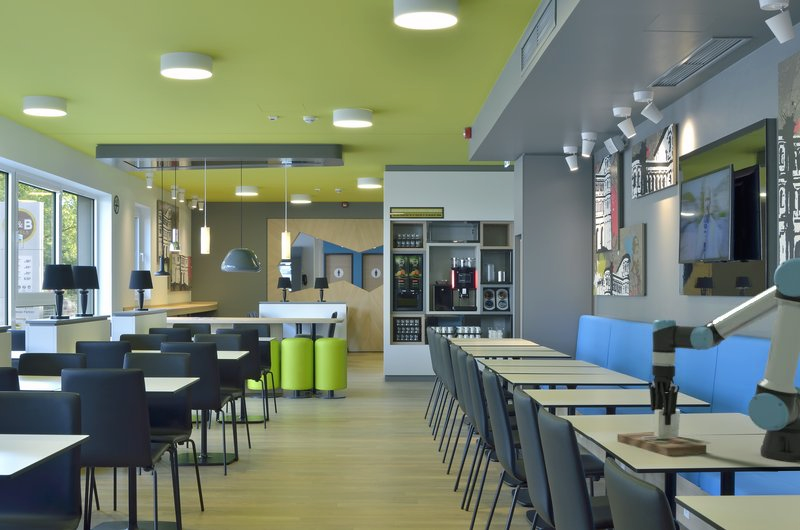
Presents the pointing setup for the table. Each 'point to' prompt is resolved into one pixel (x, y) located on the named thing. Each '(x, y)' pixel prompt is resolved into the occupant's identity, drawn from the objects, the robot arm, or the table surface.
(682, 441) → the wooden cutting board
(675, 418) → the white cup
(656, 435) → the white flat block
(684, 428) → the table surface
